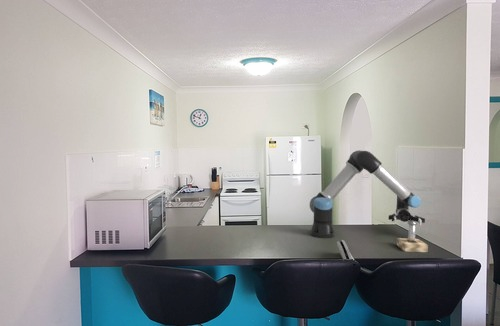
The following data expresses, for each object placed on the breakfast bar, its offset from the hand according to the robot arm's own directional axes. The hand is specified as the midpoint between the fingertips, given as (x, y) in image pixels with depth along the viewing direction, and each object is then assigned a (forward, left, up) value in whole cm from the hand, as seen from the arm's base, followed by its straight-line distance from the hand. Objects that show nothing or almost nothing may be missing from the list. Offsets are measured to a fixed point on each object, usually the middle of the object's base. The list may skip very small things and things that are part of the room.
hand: (408, 221), depth 191 cm
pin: (-2, -10, -13) cm, 16 cm away
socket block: (-2, -10, -13) cm, 17 cm away
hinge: (-43, -31, -13) cm, 55 cm away
